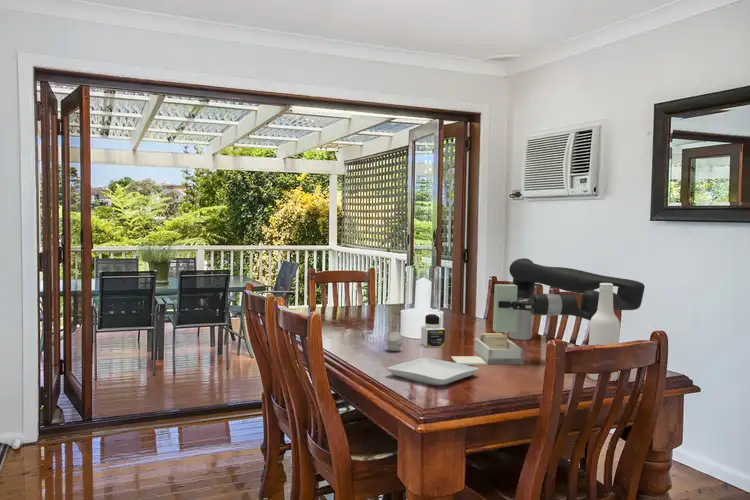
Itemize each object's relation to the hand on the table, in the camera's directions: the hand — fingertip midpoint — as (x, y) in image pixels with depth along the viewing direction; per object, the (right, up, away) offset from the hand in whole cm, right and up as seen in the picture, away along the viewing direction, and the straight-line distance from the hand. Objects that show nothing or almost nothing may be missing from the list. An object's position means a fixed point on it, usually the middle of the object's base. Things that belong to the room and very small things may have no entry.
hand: (497, 303), depth 208 cm
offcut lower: (+1, -18, +14) cm, 22 cm away
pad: (-10, -20, +1) cm, 22 cm away
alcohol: (+29, -22, -19) cm, 41 cm away
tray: (+2, -20, +8) cm, 21 cm away
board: (+3, -10, +1) cm, 10 cm away
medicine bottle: (-20, -19, +26) cm, 38 cm away
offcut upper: (+1, -15, +13) cm, 20 cm away
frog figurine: (-35, -19, +15) cm, 42 cm away
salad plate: (-24, -21, -20) cm, 38 cm away
